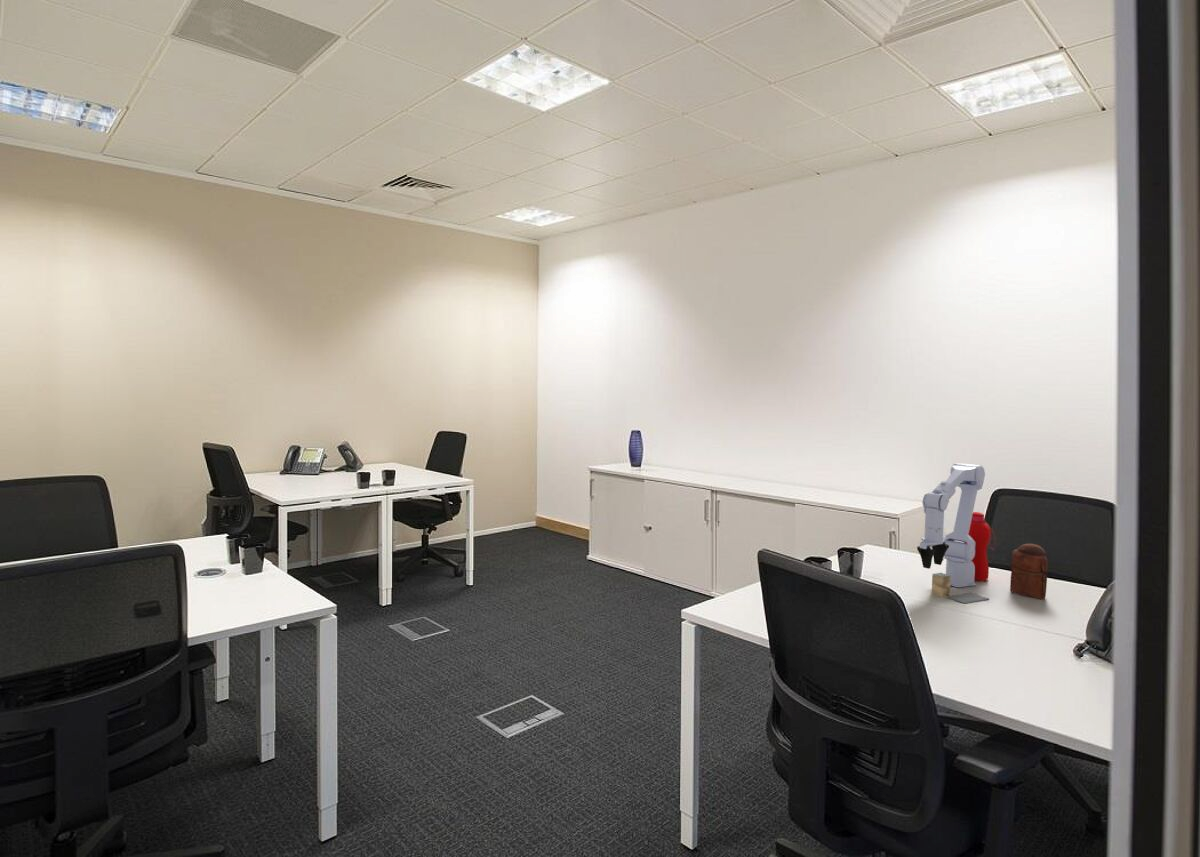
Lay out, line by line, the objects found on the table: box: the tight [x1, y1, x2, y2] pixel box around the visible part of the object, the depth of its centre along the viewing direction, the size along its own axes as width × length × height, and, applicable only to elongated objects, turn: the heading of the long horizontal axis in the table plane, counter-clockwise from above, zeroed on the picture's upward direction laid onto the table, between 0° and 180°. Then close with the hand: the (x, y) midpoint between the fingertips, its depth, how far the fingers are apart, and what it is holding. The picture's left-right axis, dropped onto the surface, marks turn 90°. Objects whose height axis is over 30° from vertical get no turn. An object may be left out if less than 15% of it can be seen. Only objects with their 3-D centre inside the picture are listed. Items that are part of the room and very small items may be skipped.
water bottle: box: [963, 511, 997, 582], centre depth 253 cm, size 9×11×25 cm
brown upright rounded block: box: [1009, 543, 1049, 600], centre depth 235 cm, size 12×6×18 cm, turn 39°
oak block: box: [931, 572, 951, 598], centre depth 234 cm, size 4×4×7 cm
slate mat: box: [945, 591, 990, 605], centre depth 230 cm, size 12×7×1 cm, turn 113°
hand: (932, 566), depth 234 cm, fingers open, 7 cm apart
